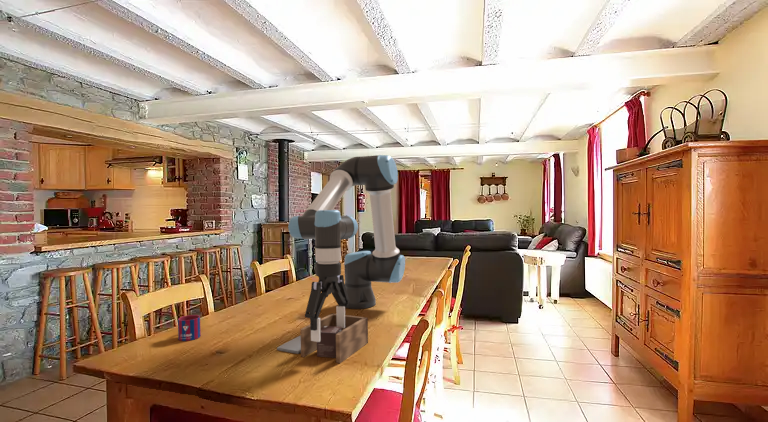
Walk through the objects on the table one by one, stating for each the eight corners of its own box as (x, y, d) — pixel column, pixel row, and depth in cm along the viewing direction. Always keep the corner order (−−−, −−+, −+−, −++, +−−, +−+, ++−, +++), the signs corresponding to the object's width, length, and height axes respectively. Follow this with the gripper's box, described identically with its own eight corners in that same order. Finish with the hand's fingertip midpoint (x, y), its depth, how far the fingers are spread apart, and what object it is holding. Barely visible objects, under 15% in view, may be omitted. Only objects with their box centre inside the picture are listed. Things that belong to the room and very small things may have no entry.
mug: (175, 341, 126) (174, 321, 126) (186, 331, 136) (186, 312, 136) (196, 340, 127) (196, 320, 126) (206, 330, 137) (206, 311, 136)
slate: (301, 337, 128) (301, 334, 128) (321, 340, 125) (321, 338, 125) (277, 350, 117) (277, 347, 117) (298, 353, 114) (298, 351, 114)
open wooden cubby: (332, 337, 128) (332, 313, 127) (368, 342, 122) (367, 317, 122) (300, 356, 112) (300, 329, 112) (339, 363, 106) (339, 334, 106)
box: (336, 358, 110) (335, 333, 110) (316, 356, 112) (316, 331, 111) (342, 350, 116) (342, 326, 116) (323, 349, 118) (323, 325, 117)
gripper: (339, 256, 126) (339, 320, 126) (291, 267, 104) (292, 345, 104) (359, 257, 123) (360, 323, 123) (314, 268, 101) (315, 349, 101)
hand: (329, 333), depth 114 cm, fingers open, 13 cm apart
